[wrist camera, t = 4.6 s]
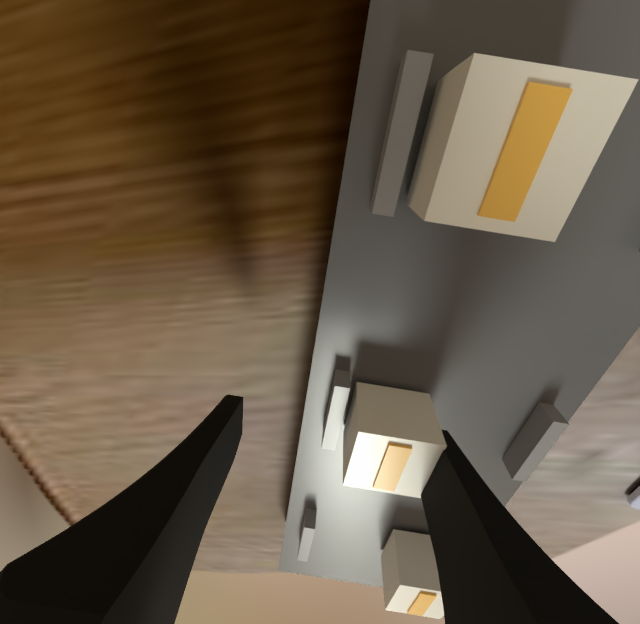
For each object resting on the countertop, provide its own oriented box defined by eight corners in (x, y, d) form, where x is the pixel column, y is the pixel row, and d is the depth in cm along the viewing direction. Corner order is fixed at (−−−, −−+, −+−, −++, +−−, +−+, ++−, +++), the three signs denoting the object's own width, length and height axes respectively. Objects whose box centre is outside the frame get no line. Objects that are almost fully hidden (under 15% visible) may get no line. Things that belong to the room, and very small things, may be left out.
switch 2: (555, 99, 8) (643, 78, 5) (504, 219, 9) (557, 243, 7) (437, 80, 8) (476, 50, 5) (405, 203, 9) (424, 221, 7)
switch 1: (446, 537, 17) (461, 597, 15) (429, 563, 19) (441, 621, 16) (393, 529, 17) (400, 587, 15) (380, 555, 19) (385, 612, 16)
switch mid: (429, 393, 12) (448, 448, 10) (408, 442, 14) (421, 500, 12) (356, 381, 12) (358, 434, 10) (343, 432, 14) (342, 488, 12)
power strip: (784, -46, 8) (1100, -187, 5) (427, 546, 24) (441, 616, 20) (388, -110, 8) (418, -296, 5) (285, 523, 24) (275, 588, 20)
